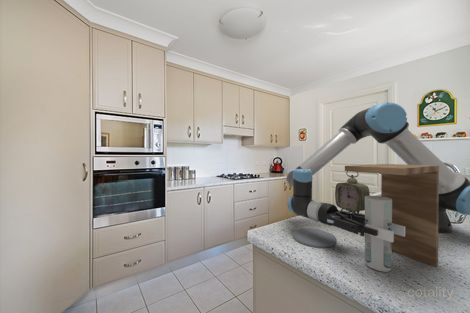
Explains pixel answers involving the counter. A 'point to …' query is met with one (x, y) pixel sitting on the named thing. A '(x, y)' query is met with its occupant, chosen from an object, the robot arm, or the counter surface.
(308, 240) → the rubber mat
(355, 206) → the tabletop clock
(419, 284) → the counter surface
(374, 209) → the spray can
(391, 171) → the walnut shelf
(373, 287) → the counter surface
